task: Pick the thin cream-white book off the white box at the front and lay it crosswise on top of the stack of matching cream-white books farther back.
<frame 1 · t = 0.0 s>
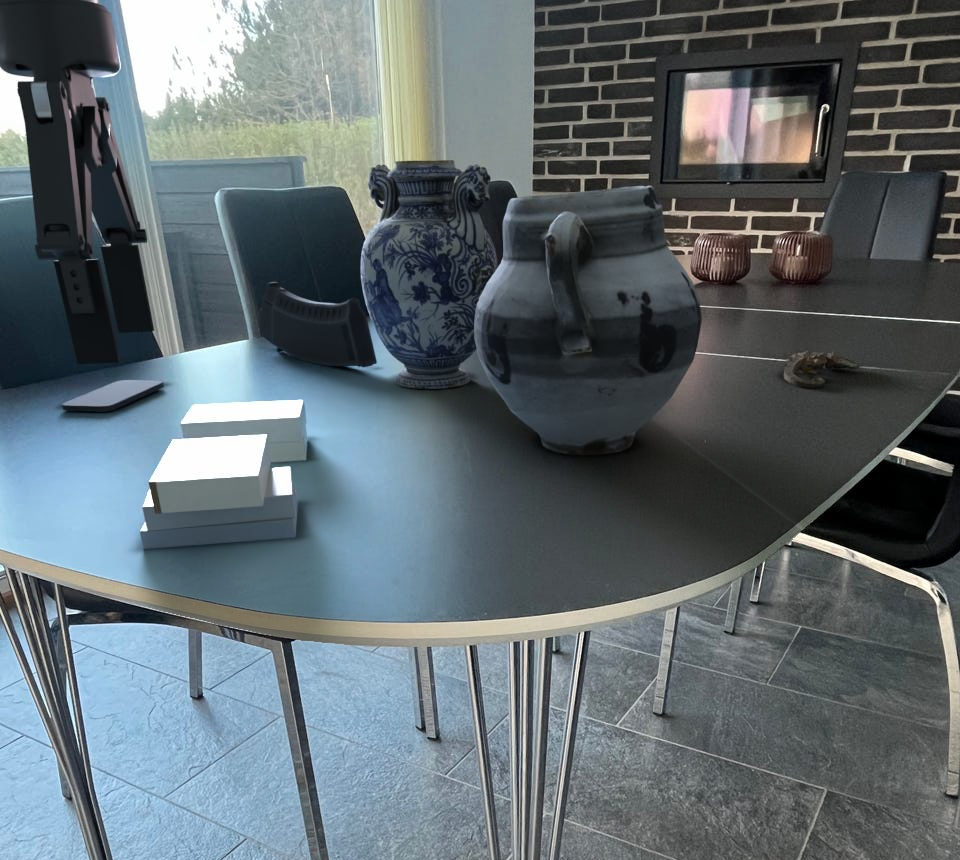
hand: (119, 346, 66), 15 cm above the table, tool pointing down, fingers open, 13 cm apart
white box: (226, 531, 74), on the table
white books: (250, 457, 93), on the table
phone: (116, 399, 119), on the table
decorative vase: (434, 383, 125), on the table
magazine: (315, 362, 141), on the table
seahorse: (818, 377, 123), on the table
white book: (218, 485, 72), point 4 cm above the table, touching white box
ceramic pot: (581, 448, 94), on the table
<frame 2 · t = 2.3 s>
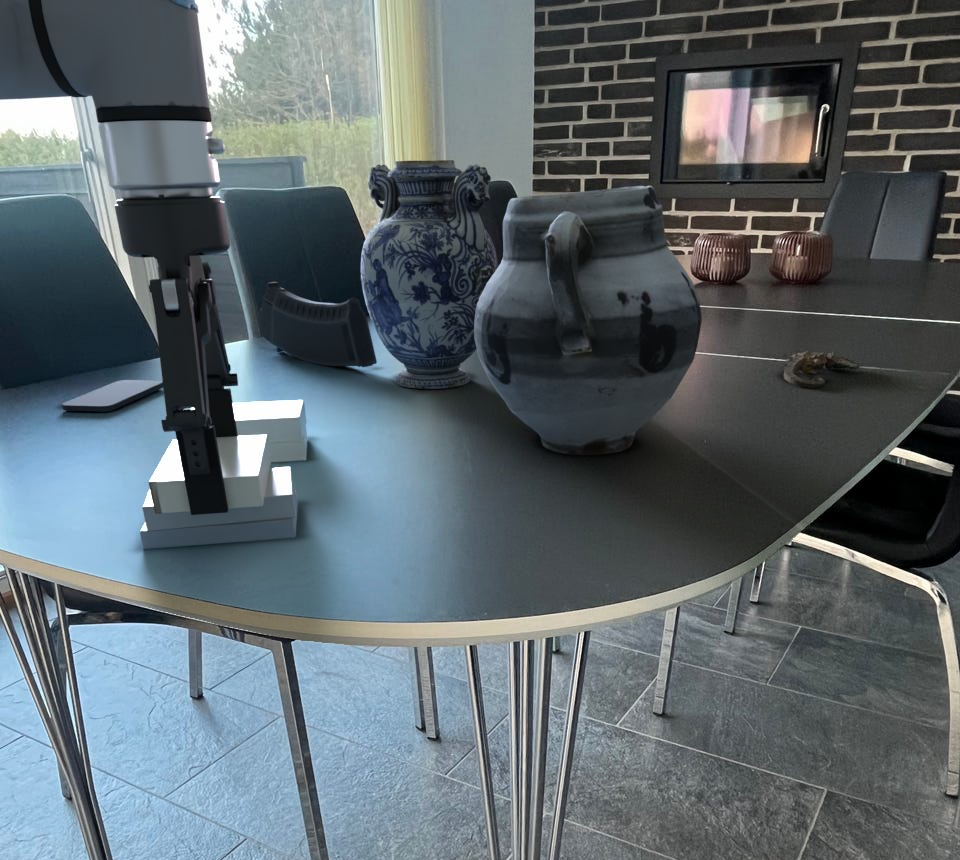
hand: (218, 486, 72), 4 cm above the table, tool pointing down, fingers closed on white book, 12 cm apart
white book: (218, 485, 72), point 4 cm above the table, touching white box, gripper
everything else where it was.
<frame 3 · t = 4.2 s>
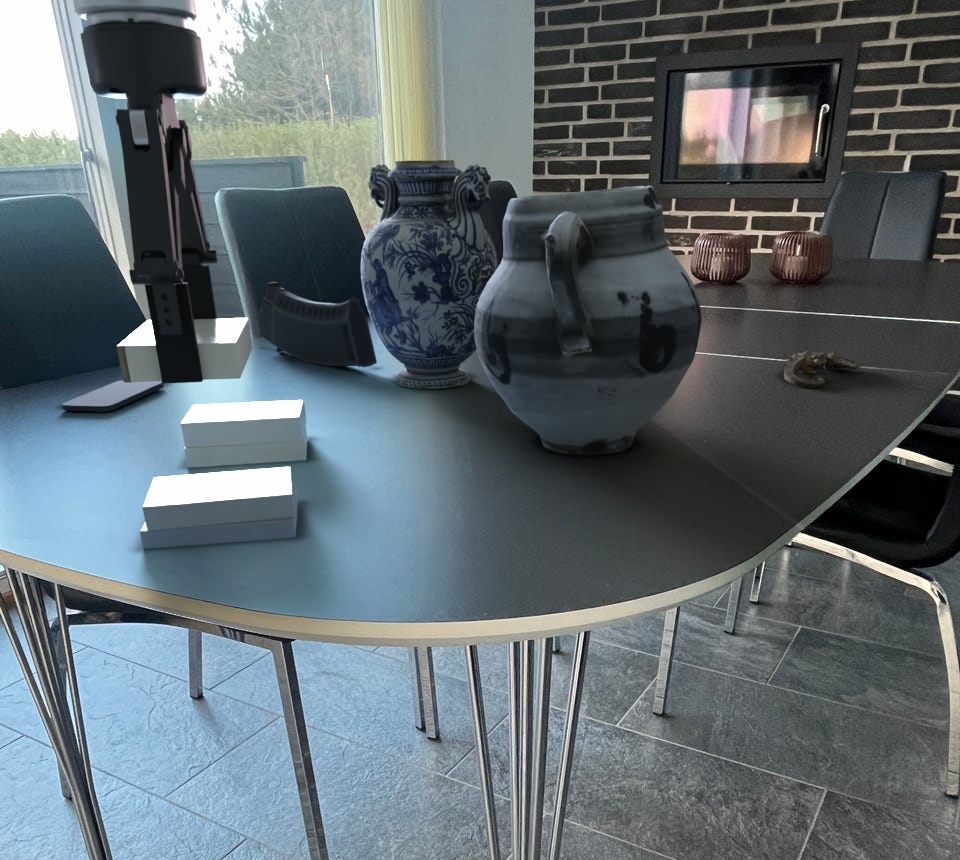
hand: (194, 365, 67), 14 cm above the table, tool pointing down, fingers closed on white book, 12 cm apart
white book: (194, 364, 67), point 14 cm above the table, touching gripper
everything else where it was.
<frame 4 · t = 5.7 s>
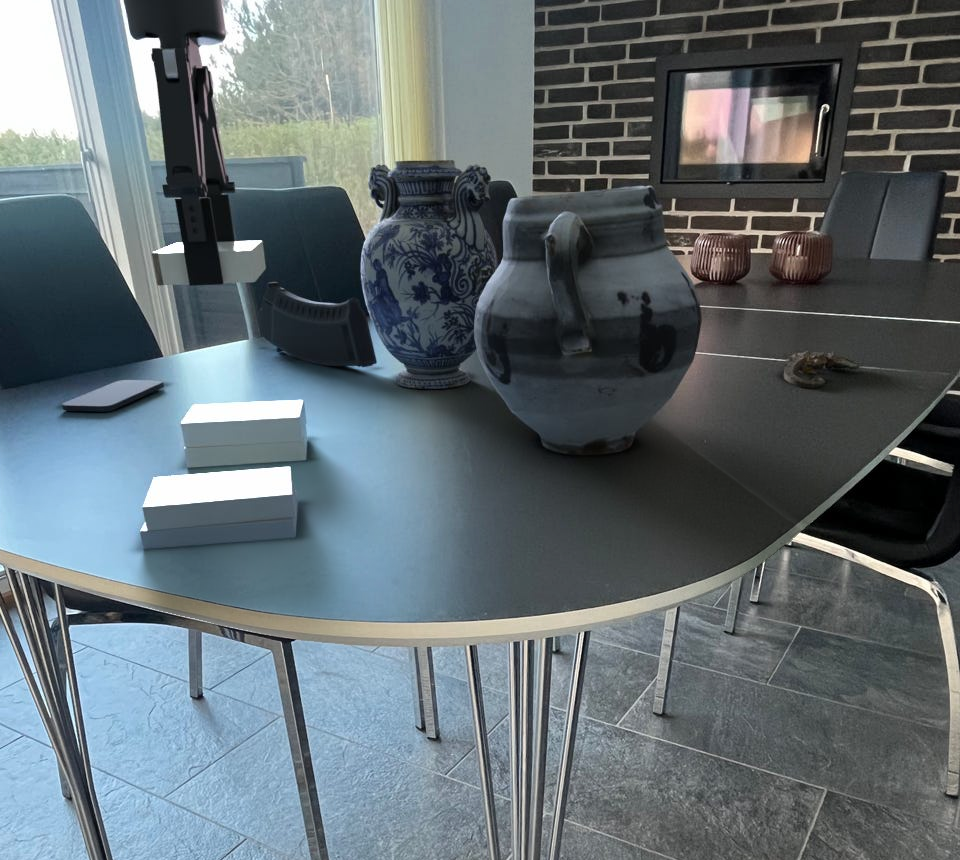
hand: (216, 277, 78), 19 cm above the table, tool pointing down, fingers closed on white book, 12 cm apart
white book: (216, 276, 78), point 19 cm above the table, touching gripper
everything else where it was.
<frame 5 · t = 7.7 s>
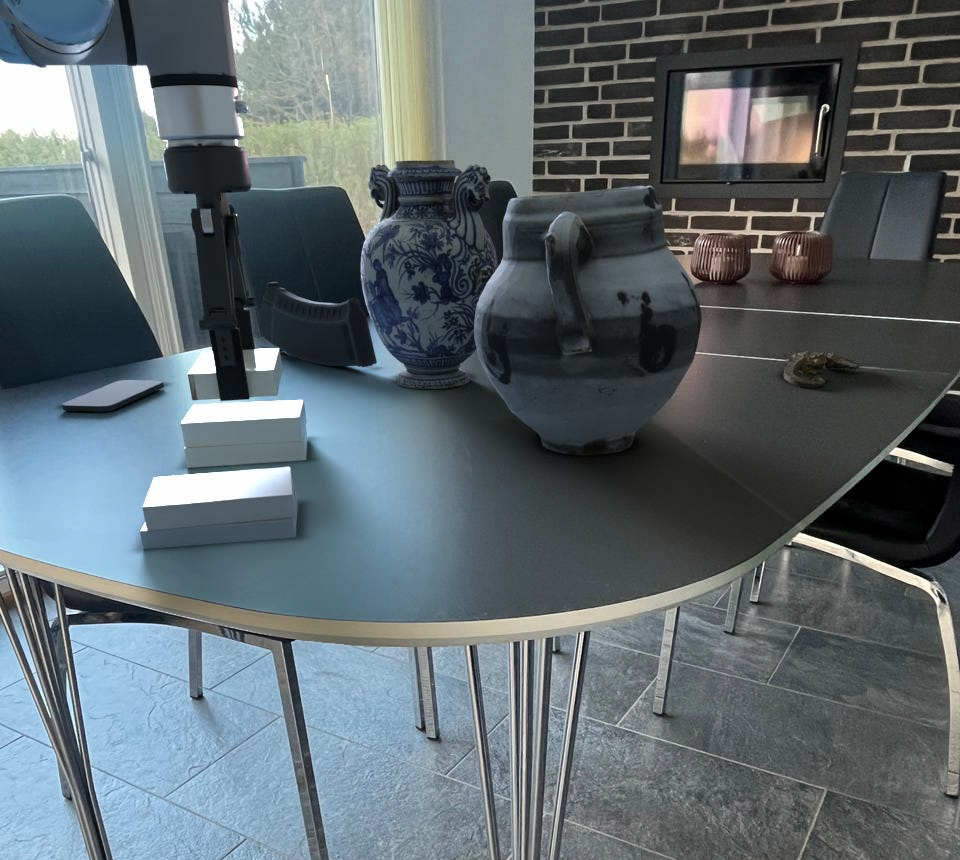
hand: (240, 385, 89), 8 cm above the table, tool pointing down, fingers closed on white book, 12 cm apart
white book: (240, 385, 89), point 8 cm above the table, touching gripper
everything else where it was.
when the fingers open (5 cm above the table, at t = 9.2 s): white book stays where it is, resting on white books.
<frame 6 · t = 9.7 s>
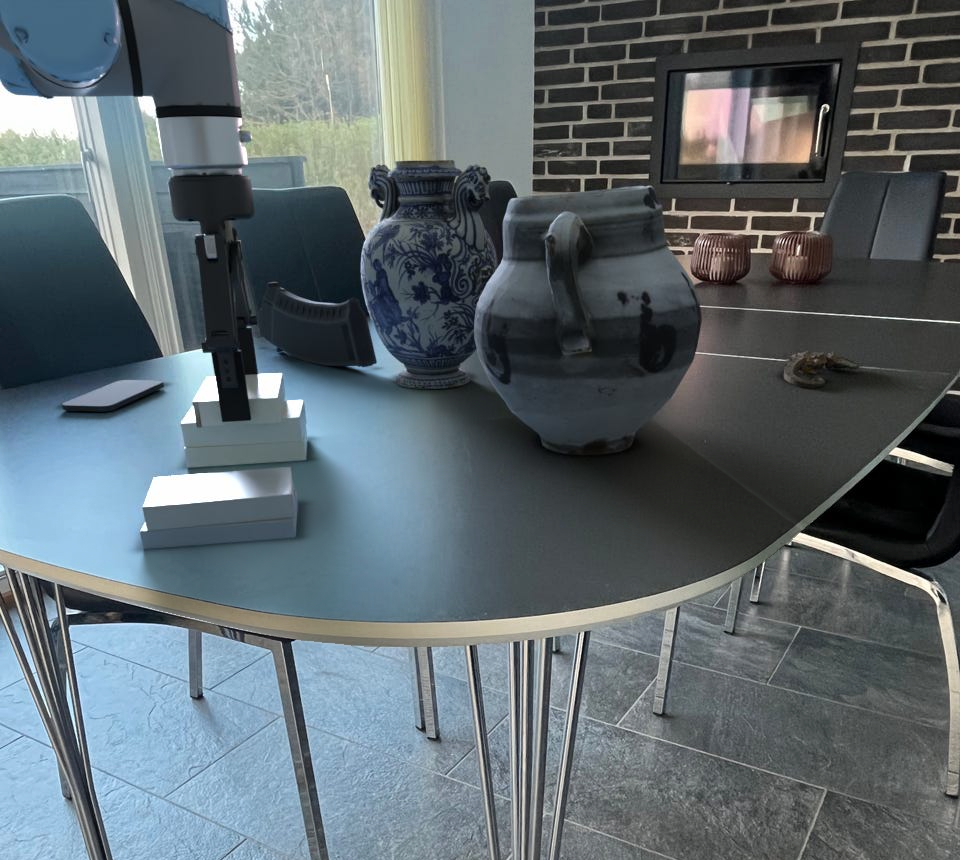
hand: (242, 404, 90), 6 cm above the table, tool pointing down, fingers open, 13 cm apart
white book: (244, 410, 90), point 5 cm above the table, touching white books
everything else where it was.
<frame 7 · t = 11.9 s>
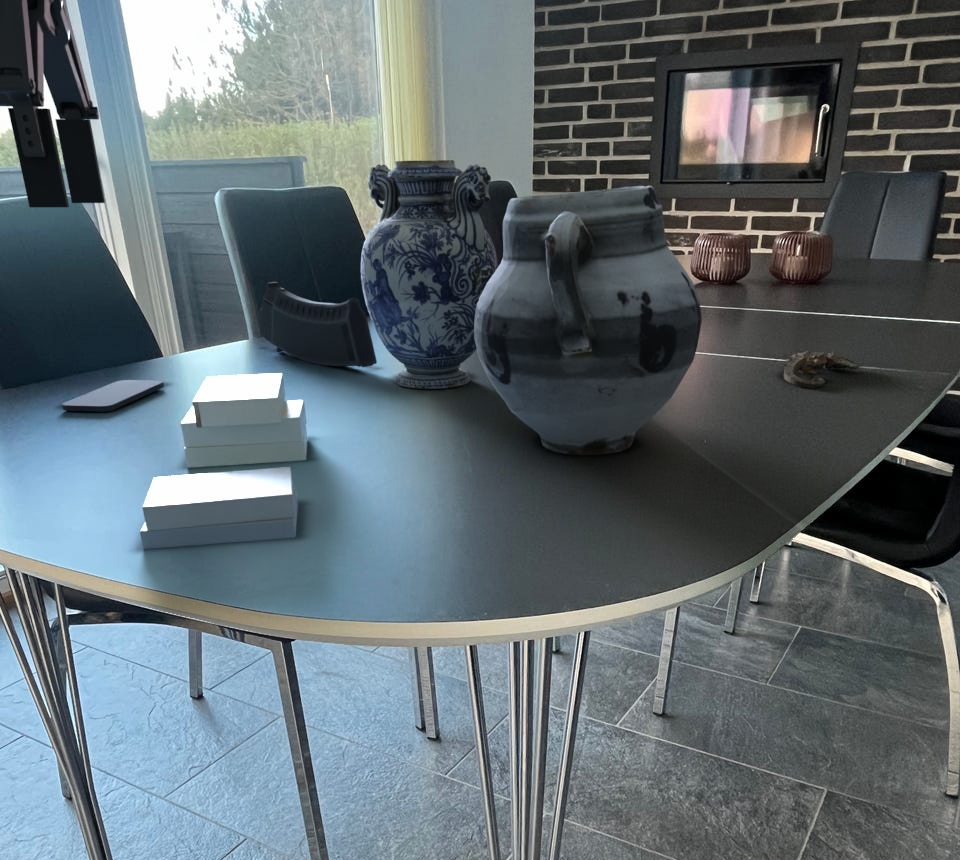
hand: (70, 205, 73), 25 cm above the table, tool pointing down, fingers open, 13 cm apart
nothing on the table moved.
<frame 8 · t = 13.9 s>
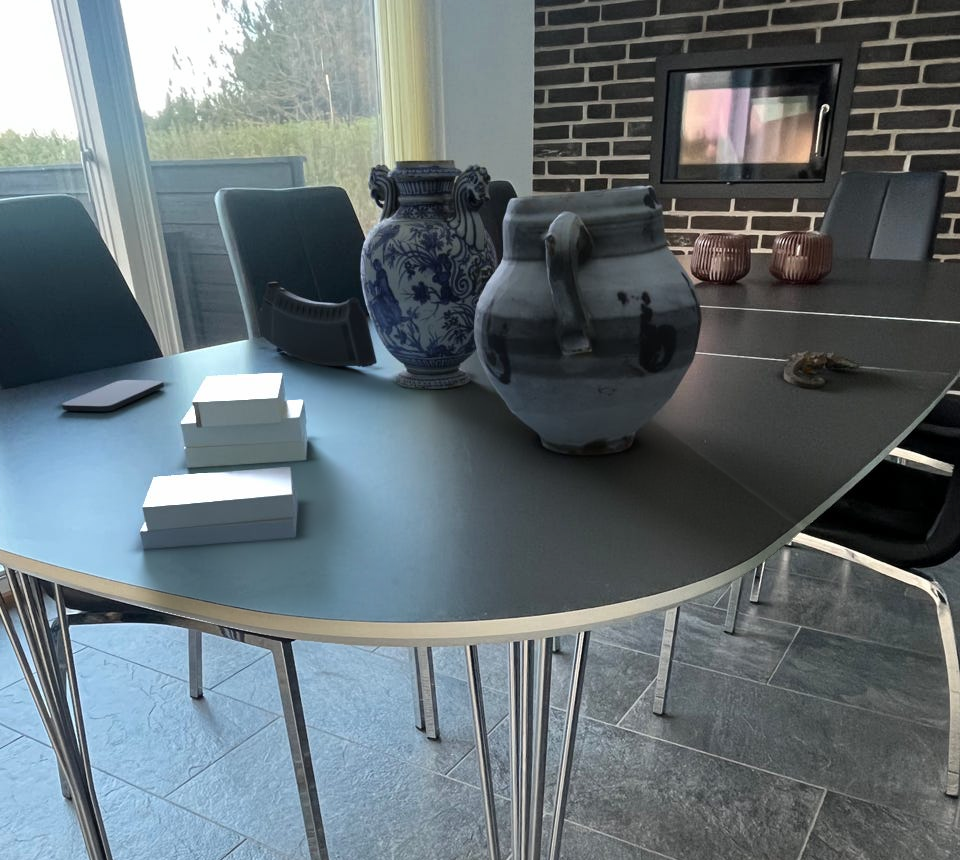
nothing on the table moved.
at the end: white book 0.0 cm off-centre on the white books, point 5.0 cm above the white books's base; white book tilted 0°; the gripper is holding nothing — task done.
